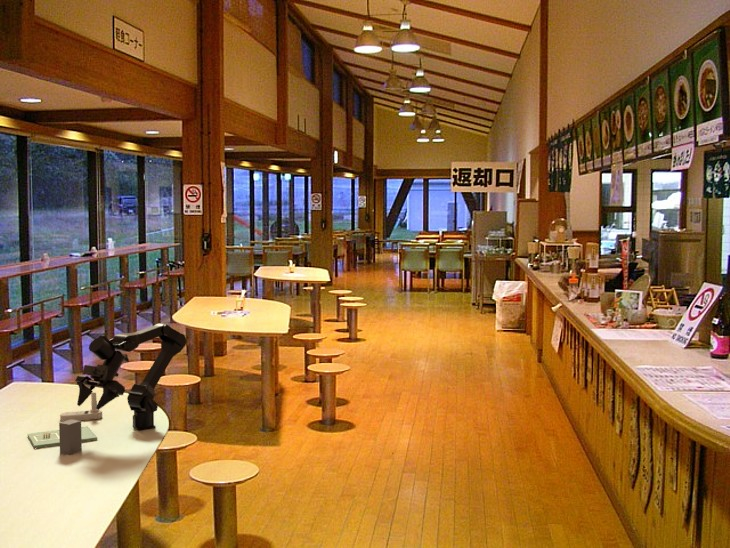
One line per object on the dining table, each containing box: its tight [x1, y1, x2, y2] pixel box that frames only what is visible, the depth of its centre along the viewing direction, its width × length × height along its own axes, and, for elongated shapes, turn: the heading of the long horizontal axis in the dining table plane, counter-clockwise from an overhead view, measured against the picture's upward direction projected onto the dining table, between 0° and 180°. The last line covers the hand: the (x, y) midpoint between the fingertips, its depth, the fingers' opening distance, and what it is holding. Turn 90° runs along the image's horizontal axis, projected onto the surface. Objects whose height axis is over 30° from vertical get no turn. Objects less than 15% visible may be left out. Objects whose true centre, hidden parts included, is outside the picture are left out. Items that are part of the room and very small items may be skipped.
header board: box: [27, 425, 98, 449], centre depth 273 cm, size 20×16×2 cm
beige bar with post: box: [59, 392, 103, 422], centre depth 298 cm, size 5×10×15 cm
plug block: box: [58, 419, 83, 456], centre depth 257 cm, size 5×4×10 cm
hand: (87, 407), depth 265 cm, fingers open, 9 cm apart
